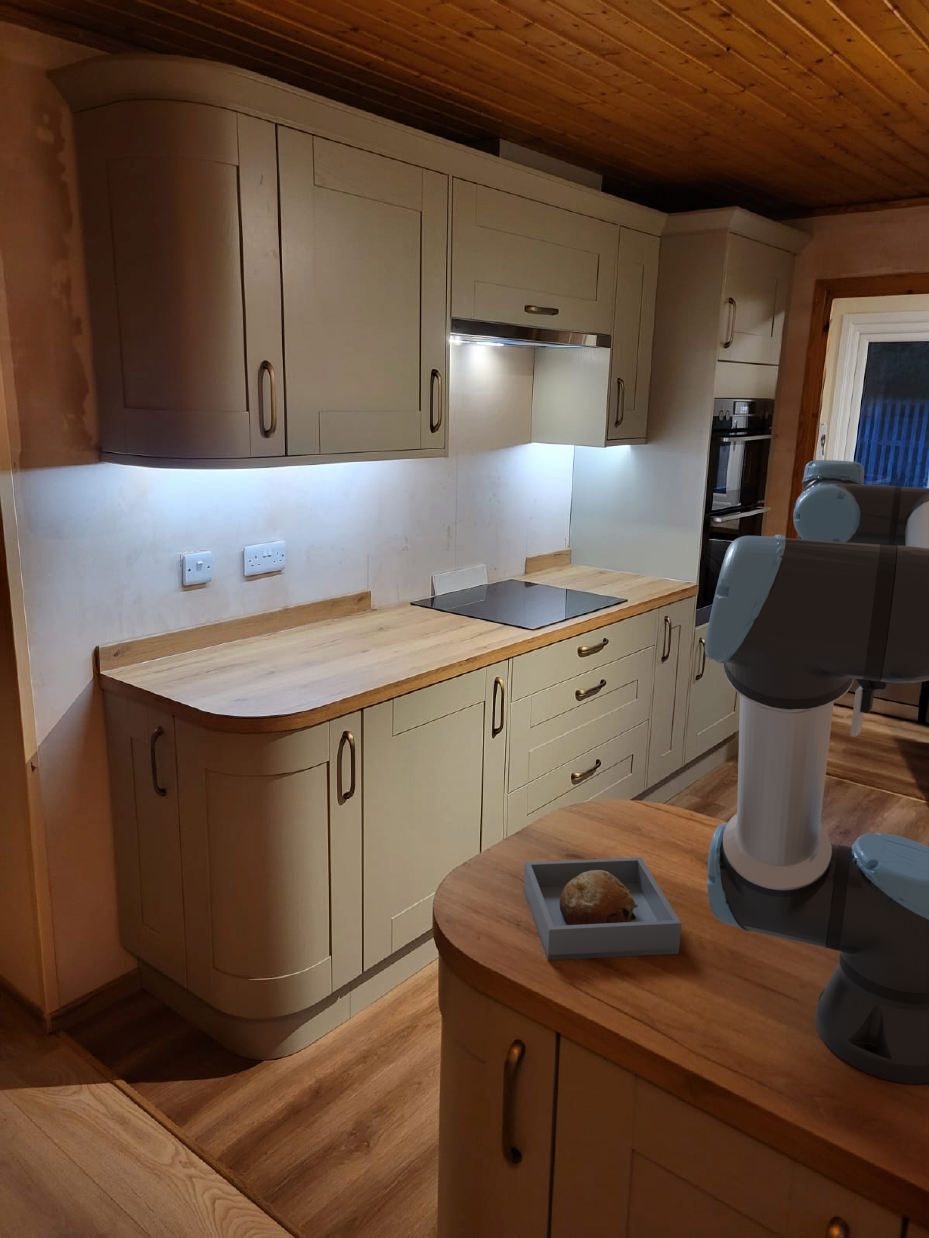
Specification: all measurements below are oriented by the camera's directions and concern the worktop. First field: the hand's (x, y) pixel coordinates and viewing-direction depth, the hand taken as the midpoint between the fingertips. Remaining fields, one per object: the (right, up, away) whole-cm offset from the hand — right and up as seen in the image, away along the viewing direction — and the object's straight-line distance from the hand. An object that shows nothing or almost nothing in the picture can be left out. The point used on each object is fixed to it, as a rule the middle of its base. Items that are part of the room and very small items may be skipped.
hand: (805, 722), depth 133 cm
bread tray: (-30, -27, -2) cm, 41 cm away
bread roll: (-30, -27, -2) cm, 40 cm away
